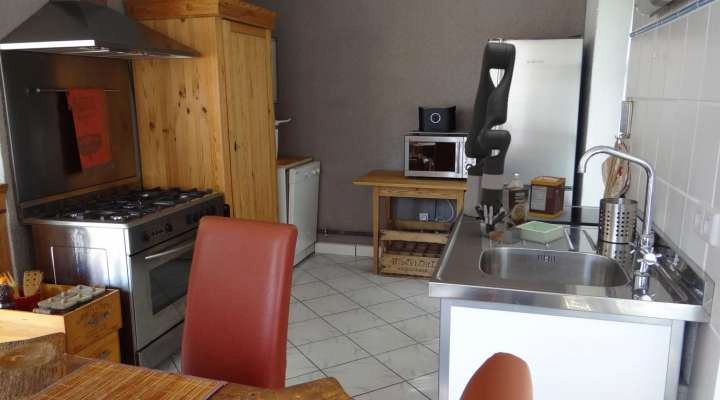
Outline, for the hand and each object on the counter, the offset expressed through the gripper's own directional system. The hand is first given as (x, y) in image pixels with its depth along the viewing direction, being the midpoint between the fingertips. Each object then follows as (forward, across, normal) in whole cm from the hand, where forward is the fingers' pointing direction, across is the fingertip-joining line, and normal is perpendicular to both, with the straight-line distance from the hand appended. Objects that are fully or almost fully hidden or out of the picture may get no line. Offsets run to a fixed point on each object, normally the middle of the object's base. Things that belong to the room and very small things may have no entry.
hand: (489, 233), depth 192 cm
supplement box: (+2, -4, +50) cm, 50 cm away
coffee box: (+1, +1, +14) cm, 14 cm away
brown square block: (+2, +5, 0) cm, 5 cm away
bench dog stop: (+1, +9, 0) cm, 9 cm away
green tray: (+1, +13, +12) cm, 17 cm away
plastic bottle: (+1, -6, +25) cm, 26 cm away
